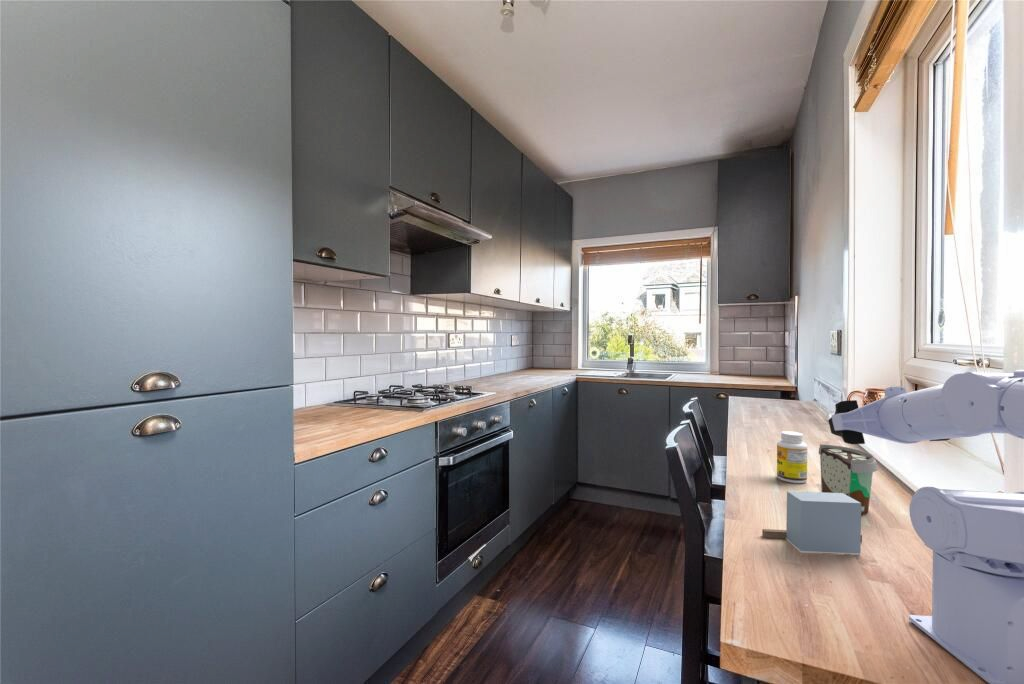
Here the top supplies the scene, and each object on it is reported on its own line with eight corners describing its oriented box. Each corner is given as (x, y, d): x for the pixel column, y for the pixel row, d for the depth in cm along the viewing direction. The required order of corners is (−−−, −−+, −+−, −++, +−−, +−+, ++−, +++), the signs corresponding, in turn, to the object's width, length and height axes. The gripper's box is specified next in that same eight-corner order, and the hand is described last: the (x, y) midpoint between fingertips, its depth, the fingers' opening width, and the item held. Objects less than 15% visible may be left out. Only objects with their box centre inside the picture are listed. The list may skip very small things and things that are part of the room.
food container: (894, 522, 74) (895, 462, 74) (852, 519, 75) (853, 460, 75) (853, 496, 86) (853, 445, 86) (817, 494, 87) (818, 443, 87)
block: (860, 555, 63) (861, 503, 63) (800, 552, 64) (801, 500, 64) (842, 542, 67) (842, 493, 67) (786, 540, 68) (786, 491, 68)
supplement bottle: (775, 474, 100) (776, 429, 100) (805, 478, 97) (805, 431, 97) (777, 481, 95) (778, 434, 95) (808, 485, 92) (809, 436, 92)
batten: (862, 541, 67) (862, 535, 67) (764, 537, 68) (764, 531, 68) (858, 539, 68) (858, 533, 68) (762, 535, 69) (762, 529, 69)
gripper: (991, 375, 51) (910, 394, 64) (852, 383, 53) (801, 400, 66) (1012, 438, 49) (924, 444, 62) (867, 444, 51) (811, 449, 64)
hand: (861, 425), depth 64 cm, fingers open, 7 cm apart
